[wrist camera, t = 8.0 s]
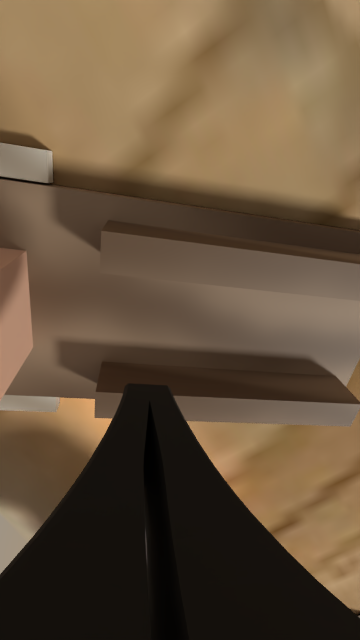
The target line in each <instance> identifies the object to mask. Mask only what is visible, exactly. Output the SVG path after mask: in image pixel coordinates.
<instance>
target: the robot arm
mask: <svg viewBox="0 0 360 640" xmlns="http://www.w3.org/2000/svg"><path fill="white" fill-rule="evenodd" d="M0 640H360V618H359V617H358V616H357V615H356V614H355V613H353V612H352V611H351V610H350V609H349V608H348V607H347V606H346V605H344V604H343V603H342V602H341V601H340V600H339V599H338V598H336V597H335V596H334V595H333V594H332V593H331V592H330V591H329V590H327V589H326V588H325V587H324V586H323V585H322V584H321V583H319V582H318V581H317V580H316V579H315V578H314V577H313V576H312V575H311V574H310V573H309V572H308V571H307V570H306V569H305V568H304V567H303V566H302V565H301V564H300V563H299V562H298V561H297V560H296V559H295V558H294V557H293V556H292V555H291V554H289V553H288V552H287V550H286V549H285V548H284V547H283V546H282V545H281V544H280V543H279V542H278V541H277V540H276V539H275V538H274V537H273V536H272V534H271V533H270V532H269V531H268V530H267V529H266V528H265V527H264V526H263V525H262V524H261V523H260V522H259V521H258V520H257V518H256V517H255V516H254V515H253V514H252V513H251V512H250V511H249V509H248V508H247V507H246V506H245V505H244V503H243V502H242V501H241V500H240V499H239V497H238V496H237V495H236V494H235V493H234V491H233V490H232V489H231V487H230V486H229V485H228V484H227V482H226V481H225V480H224V478H223V477H222V476H221V474H220V473H219V472H218V470H217V469H216V468H215V466H214V465H213V463H212V462H211V460H210V459H209V457H208V456H207V454H206V453H205V451H204V450H203V448H202V447H201V445H200V444H199V442H198V441H197V439H196V437H195V435H194V434H193V432H192V430H191V429H190V427H189V425H188V424H187V422H186V420H185V418H184V416H183V414H182V413H181V411H180V409H179V407H178V405H177V403H176V401H175V398H174V396H173V394H172V392H171V389H170V388H169V387H168V385H152V384H133V383H128V384H127V385H125V387H124V392H123V395H122V398H121V401H120V404H119V406H118V408H117V411H116V413H115V415H114V417H113V419H112V421H111V423H110V425H109V427H108V429H107V431H106V433H105V435H104V437H103V438H102V440H101V442H100V443H99V445H98V447H97V448H96V450H95V452H94V453H93V455H92V457H91V459H90V460H89V462H88V463H87V465H86V466H85V468H84V469H83V471H82V472H81V474H80V475H79V477H78V478H77V480H76V481H75V483H74V484H73V485H72V487H71V488H70V490H69V491H68V492H67V494H66V495H65V496H64V498H63V499H62V500H61V502H60V503H59V504H58V506H57V507H56V508H55V510H54V511H53V512H52V513H51V515H50V516H49V517H48V519H47V520H46V521H45V522H44V524H43V525H42V526H41V527H40V529H39V530H38V531H37V532H36V534H35V535H34V536H33V537H32V538H31V540H30V541H29V542H28V543H27V544H26V545H25V547H24V548H23V549H22V550H21V551H20V552H19V553H18V555H17V556H16V557H15V558H14V559H13V560H12V561H11V563H10V564H9V565H8V566H7V567H6V568H5V570H4V571H3V572H2V573H1V574H0Z"/></svg>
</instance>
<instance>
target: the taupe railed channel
mask: <svg viewBox="0 0 360 640" xmlns="http://www.w3.org/2000/svg"><path fill="white" fill-rule="evenodd" d="M0 176H3V177H0V248H7V249H15V250H24V251H26V252H27V266H28V280H29V294H30V309H31V323H32V337H33V348H32V350H31V352H30V353H29V355H28V357H27V358H26V360H25V361H24V363H23V365H22V366H21V368H20V370H19V371H18V373H17V374H16V376H15V378H14V379H13V381H12V383H11V384H10V386H9V388H8V389H7V391H6V392H5V394H4V396H3V397H2V399H1V401H0V410H11V411H39V412H57V409H58V406H59V403H60V398H59V397H64V398H87V399H95V418H113V417H114V415H115V413H116V411H117V408H118V406H119V404H120V401H121V398H122V395H123V392H124V387H125V385H127V384H128V383H133V384H152V385H168V387H169V388H170V389H171V392H172V394H173V396H174V398H175V401H176V403H177V405H178V407H179V409H180V411H181V413H182V414H183V416H184V418H185V420H186V421H205V422H234V423H264V424H294V425H324V426H351V424H352V422H353V421H354V419H355V417H356V415H357V413H358V411H359V409H360V402H359V401H358V400H357V399H356V397H355V396H354V395H353V394H352V393H351V392H350V391H349V390H348V389H347V388H346V386H347V383H348V381H349V379H350V377H351V375H352V373H353V371H354V369H355V367H356V365H357V363H358V361H359V359H360V231H359V230H352V229H346V228H339V227H332V226H326V225H319V224H312V223H306V222H299V221H292V220H285V219H279V218H272V217H265V216H259V215H252V214H245V213H239V212H232V211H225V210H218V209H212V208H205V207H198V206H192V205H185V204H178V203H171V202H165V201H158V200H151V199H145V198H138V197H131V196H125V195H118V194H111V193H104V192H98V191H91V190H84V189H78V188H71V187H64V186H58V185H51V184H44V183H52V182H53V158H52V151H48V150H42V149H36V148H30V147H24V146H18V145H12V144H6V143H0ZM4 177H9V178H4ZM11 178H16V179H11ZM17 179H23V180H17ZM24 180H30V181H24ZM31 181H36V182H31ZM37 182H43V183H37Z"/></svg>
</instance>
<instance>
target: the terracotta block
mask: <svg viewBox="0 0 360 640" xmlns="http://www.w3.org/2000/svg"><path fill="white" fill-rule="evenodd" d="M32 348H33V337H32V323H31V309H30V294H29V280H28V266H27V252H26V251H24V250H15V249H7V248H0V401H1V399H2V397H3V396H4V394H5V392H6V391H7V389H8V388H9V386H10V384H11V383H12V381H13V379H14V378H15V376H16V374H17V373H18V371H19V370H20V368H21V366H22V365H23V363H24V361H25V360H26V358H27V357H28V355H29V353H30V352H31V350H32Z"/></svg>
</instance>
